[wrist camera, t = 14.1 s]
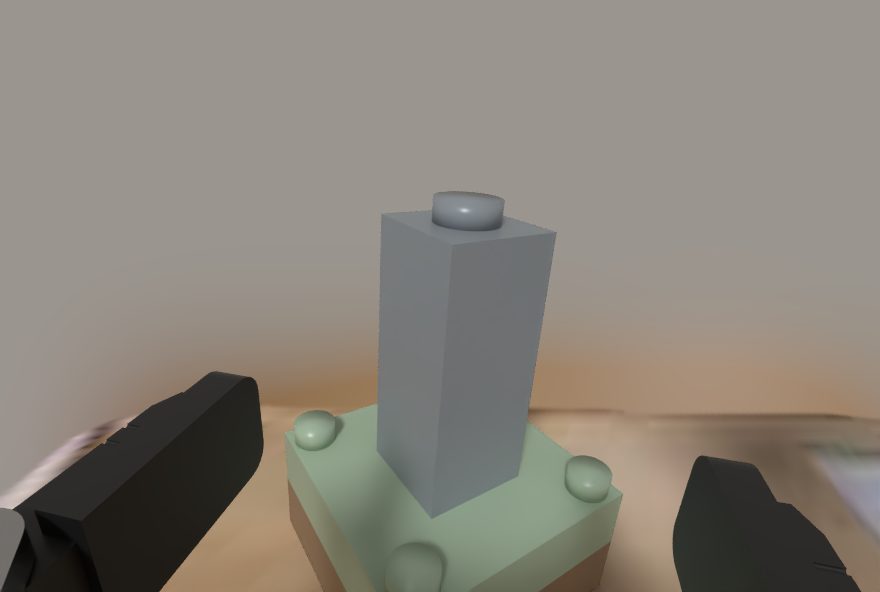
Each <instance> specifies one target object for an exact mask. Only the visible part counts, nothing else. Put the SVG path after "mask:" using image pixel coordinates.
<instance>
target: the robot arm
mask: <svg viewBox="0 0 880 592" xmlns="http://www.w3.org/2000/svg"><path fill="white" fill-rule="evenodd" d="M263 446H264V440H263V431H262V421H261V412H260V402H259V393H258V386H257V383H256V381H255V380H254V379H253V378H251V377H246V376H240V375H235V374H229V373H222V372H211V373H209V374H208V375H206V376H205V377H203V378H202V379H201V380H200V381H198V382H197V383H196V384H194V385H193V386H192V387H191V388H189V389H188V390H187V391H185V392H184V393H183V392H181V393H179V394H177V395H175V396H172V397H170V398H168V399H166V400H163V401H161V402H159V403H157V404H155V405H152V406H151V407H150V408H148V409H147V410H145V411H144V412H143V413H141V414H140V415H139V416H137V417H136V418H135V419H133V420H132V421H131V422H129V423H128V425H127V427H126V428H121V429H120V430H119V431H117V432H116V433H115V434H113V435H112V436H111V437H109V438H108V439H107V442H106V443H105V444H102V443H101V444H100V445H99V446H97V447H96V448H95V449H93V450H92V451H91V452H89V453H88V454H87V455H85V456H84V457H83V458H81V459H80V460H78V461H77V462H76V463H74V464H73V465H72V466H70V467H69V468H68V469H66V470H65V471H64V472H62V473H61V474H60V475H58V476H57V477H56V478H54V479H53V480H52V481H50V482H49V483H48V484H46V485H45V486H44V487H42V488H41V489H40V490H38V491H37V492H36V493H34V494H33V495H32V496H30V497H29V498H28V499H26V500H25V501H24V502H22V503H21V504H20V505H18V506H17V507H15V508H14V509H12V510H11V509H6V508H0V592H159V591H160V590H161V589H162V588H163V586H164V585H165V584H166V583H167V581H168V580H169V579H170V578H171V576H172V575H173V574H174V573H175V571H176V570H177V569H178V568H179V567H180V565H181V564H182V563H183V562H184V560H185V559H186V558H187V557H188V555H189V554H190V553H191V552H192V550H193V549H194V548H195V547H196V545H197V544H198V543H199V542H200V540H201V539H202V538H203V537H204V536H205V534H206V533H207V532H208V531H209V529H210V528H211V527H212V526H213V524H214V523H215V522H216V521H217V519H218V518H219V517H220V516H221V514H222V513H223V512H224V511H225V510H226V508H227V507H228V506H229V505H230V503H231V502H232V501H233V500H234V498H235V497H236V496H237V495H238V493H239V492H240V491H241V490H242V488H243V487H244V486H245V485H246V483H247V482H248V481H249V480H250V479H251V477H252V476H253V475H254V473H255V471H256V470H257V468H258V466H259V463H260V461H261V457H262V453H263ZM673 557H674V563H675V567H676V571H677V574H678V578H679V582H680V585H681V589H682V592H861V591H860V589H859V587H858V586H857V584H856V583H855V581H854V580H853V578H852V577H851V576H849V575H847V574H846V567H845V566H844V564H843V563H842V561H841V560H840V558H839V557H838V555H837V554H836V552H835V551H834V549H833V548H832V546H831V544H830V543H829V541H828V540H827V538H826V537H825V535H824V534H823V533H822V532H821V531H820V530H818V529H817V528H816V527H815V526H814V525H813V524H812V523H811V522H810V521H809V520H808V519H807V518H805V517H804V516H803V515H802V514H801V513H800V512H799V511H798V510H797V509H796V508H795V507H793V506H792V505H791V504H786V503H781V502H777V501H776V499H775V497H774V496H773V494H772V492H771V490H770V489H769V487H768V485H767V484H766V482H765V480H764V479H763V477H762V475H761V473H760V472H759V470H758V469H757V468H756V467H755V466H754V465H752V464H749V463H743V462H737V461H731V460H725V459H720V458H714V457H708V456H699V457H698V458H697V459H696V461H695V463H694V465H693V468H692V471H691V474H690V477H689V480H688V484H687V487H686V490H685V493H684V496H683V499H682V503H681V506H680V509H679V512H678V515H677V518H676V521H675V525H674V530H673Z"/></svg>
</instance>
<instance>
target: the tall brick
mask: <svg viewBox="0 0 880 592" xmlns="http://www.w3.org/2000/svg"><path fill="white" fill-rule="evenodd" d="M503 210H504V199H502V198H500V197H497V196H493V195H488V194H482V193H474V192H459V191H458V192H456V191H450V192H439V193H435V194H434V195H433V207H432V210H431V211H430V210H429V211H415V212H401V213H386V214H382V215H381V263H380V311H379V315H380V316H379V359H378V408H377V452H378V453H379V454H380V456H381V457H382V458H383V459H384V461H385V462H386V463H387V464H388V466H389V467H390V468H391V469H392V471H393V472H394V473H395V474H396V476H397V477H398V478H399V479H400V481H401V482H402V483H403V484H404V486H405V487H406V488H407V489H408V491H409V492H410V493H411V494H412V496H413V497H414V498H415V499H416V501H417V502H418V503H419V504H420V506H421V507H422V508H423V509H424V511H425V512H426V513H427V514H428V516H429V517H430V518H431V519H433V518H435V517H437V516H439V515H441V514H443V513H445V512H447V511H449V510H451V509H453V508H455V507H457V506H459V505H461V504H463V503H465V502H467V501H469V500H471V499H473V498H475V497H477V496H479V495H481V494H483V493H485V492H487V491H489V490H491V489H493V488H495V487H498V486H500V485H502V484H504V483H506V482H508V481H510V480H512V479H514V478H516V477H518V474H519V467H520V461H521V455H522V448H523V442H524V435H525V429H526V423H527V416H528V410H529V404H530V397H531V391H532V385H533V378H534V372H535V366H536V359H537V353H538V347H539V340H540V334H541V328H542V321H543V315H544V308H545V302H546V296H547V289H548V283H549V276H550V270H551V264H552V258H553V251H554V245H555V238H556V232H554V231H551V230H548V229H544V228H542V227H538V226H535V225H532V224H529V223H525V222H522V221H519V220H516V219H513V218H510V217H506V216H503Z"/></svg>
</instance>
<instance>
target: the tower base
mask: <svg viewBox="0 0 880 592" xmlns="http://www.w3.org/2000/svg"><path fill="white" fill-rule="evenodd" d="M377 408H378V404H374V405H371V406H368V407H365V408H362V409H358V410H355V411H352V412H349V413H346V414H342V415H339V416H336V417H334V416H333V415H332V414H330V413H329V412H326V411H321V410H314V411H309V412H306V413H303V414H301V415H300V416H299V417H297V419H296V420H295V422H294V429H295V430H291V431H288V432H285V446H286V461H287V476H288V492H289V507H290V520H291V522H292V525H293V527H294V529H295V531H296V533H297V535H298V537H299V539H300V541H301V543H302V546H303V548H304V550H305V552H306V554H307V556H308V558H309V560H310V562H311V565H312V567H313V569H314V571H315V573H316V575H317V577H318V579H319V581H320V583H321V586H322V588H323V590H324V592H590V591H591V590H593V589H594V588H595V587H597V586H598V585H599V584H600V580H601V576H602V572H603V569H604V565H605V561H606V557H607V553H608V550H609V546H610V542H611V538H612V534H613V531H614V527H615V523H616V519H617V515H618V512H619V508H620V504H621V500H622V496H623V493H622V492H620V491H619V490H618V489H616V488H615V487H614V486H613V485H611V480H612V472H611V470H610V469H609V467H608V466H607V465H606V464H605V463H603V462H602V461H600V460H598V459H596V458H594V457H590V456H575V457H574V456H573V455H572V454H570V453H569V452H568V451H566V450H565V449H564V448H562V447H561V446H560V445H558V444H557V443H556V442H554V441H553V440H552V439H551V438H549V437H548V436H547V435H545V434H544V433H543V432H541V431H540V430H539V429H537V428H536V427H535V426H533V425H532V424H531V423H529V422H528V421H527V423H526V429H525V435H524V442H523V448H522V455H521V461H520V467H519V474H518V477H516V478H514V479H512V480H510V481H508V482H506V483H504V484H502V485H500V486H498V487H495V488H493V489H491V490H489V491H487V492H485V493H483V494H481V495H479V496H477V497H475V498H473V499H471V500H469V501H467V502H465V503H463V504H461V505H459V506H457V507H455V508H453V509H451V510H449V511H447V512H445V513H443V514H441V515H439V516H437V517H435V518H433V519H431V518H430V517H429V516H428V514H427V513H426V512H425V511H424V509H423V508H422V507H421V506H420V504H419V503H418V502H417V501H416V499H415V498H414V497H413V496H412V494H411V493H410V492H409V491H408V489H407V488H406V487H405V486H404V484H403V483H402V482H401V481H400V479H399V478H398V477H397V476H396V474H395V473H394V472H393V471H392V469H391V468H390V467H389V466H388V464H387V463H386V462H385V461H384V459H383V458H382V457H381V456H380V454H379V453H378V452H377Z"/></svg>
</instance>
